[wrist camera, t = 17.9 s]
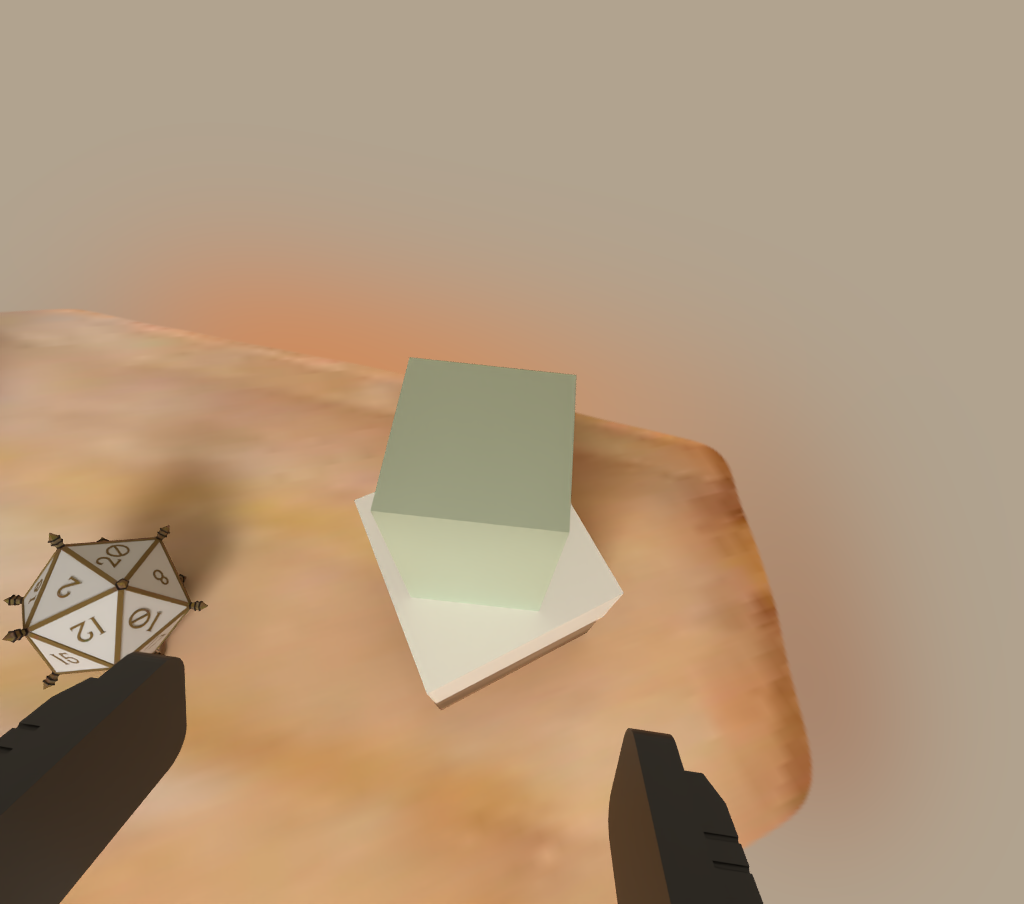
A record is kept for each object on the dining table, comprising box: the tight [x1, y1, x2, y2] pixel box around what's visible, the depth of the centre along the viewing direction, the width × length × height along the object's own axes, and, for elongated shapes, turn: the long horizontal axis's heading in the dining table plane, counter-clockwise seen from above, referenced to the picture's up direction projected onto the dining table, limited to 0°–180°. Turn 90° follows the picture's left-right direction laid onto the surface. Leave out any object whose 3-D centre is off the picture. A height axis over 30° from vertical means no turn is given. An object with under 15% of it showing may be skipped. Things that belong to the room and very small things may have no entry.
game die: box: [2, 525, 208, 689], centre depth 29 cm, size 9×8×10 cm
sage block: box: [370, 357, 576, 611], centre depth 21 cm, size 6×6×10 cm
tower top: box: [354, 492, 623, 703], centre depth 28 cm, size 10×10×5 cm
